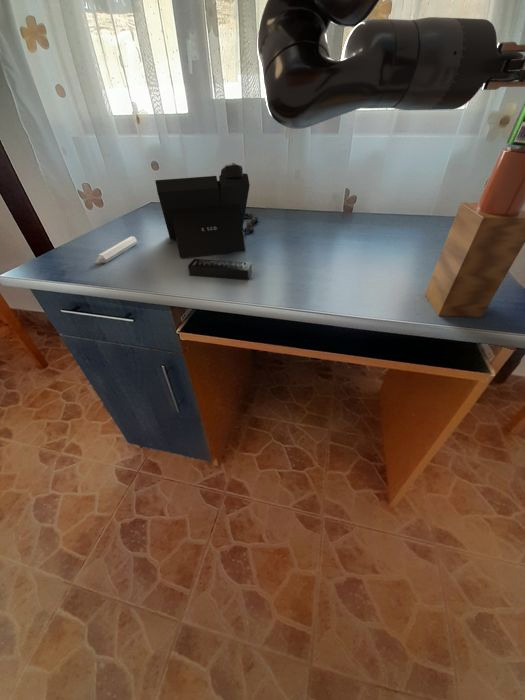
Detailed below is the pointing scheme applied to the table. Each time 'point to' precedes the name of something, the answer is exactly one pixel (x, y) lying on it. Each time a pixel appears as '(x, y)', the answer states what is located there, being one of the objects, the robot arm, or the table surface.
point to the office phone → (207, 212)
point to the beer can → (517, 134)
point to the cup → (505, 185)
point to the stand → (474, 261)
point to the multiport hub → (220, 269)
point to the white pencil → (116, 250)
